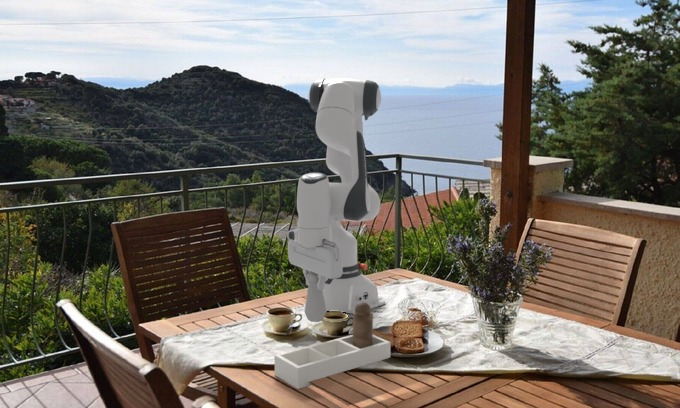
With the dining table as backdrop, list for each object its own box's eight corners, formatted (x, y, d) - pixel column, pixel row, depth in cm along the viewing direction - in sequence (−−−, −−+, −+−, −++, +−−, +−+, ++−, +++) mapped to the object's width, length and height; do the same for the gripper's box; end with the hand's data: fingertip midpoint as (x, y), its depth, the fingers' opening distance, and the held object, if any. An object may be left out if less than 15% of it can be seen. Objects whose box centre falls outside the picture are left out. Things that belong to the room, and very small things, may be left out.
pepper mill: (363, 350, 174) (364, 298, 172) (376, 356, 170) (377, 303, 168) (348, 354, 171) (349, 301, 169) (361, 361, 167) (361, 306, 165)
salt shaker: (324, 323, 175) (323, 275, 172) (302, 322, 176) (301, 274, 173) (328, 316, 180) (327, 269, 178) (307, 315, 181) (306, 268, 179)
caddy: (365, 349, 177) (365, 331, 177) (390, 361, 170) (390, 342, 169) (274, 374, 161) (274, 355, 160) (297, 389, 153) (297, 368, 152)
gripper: (348, 241, 168) (348, 294, 170) (302, 228, 184) (303, 276, 186) (328, 245, 164) (328, 299, 167) (283, 231, 180) (284, 280, 183)
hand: (315, 287), depth 177 cm, fingers closed on salt shaker, 3 cm apart
